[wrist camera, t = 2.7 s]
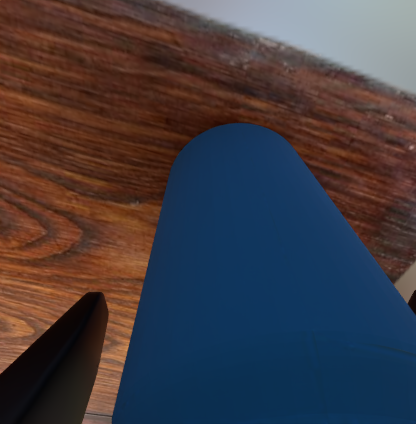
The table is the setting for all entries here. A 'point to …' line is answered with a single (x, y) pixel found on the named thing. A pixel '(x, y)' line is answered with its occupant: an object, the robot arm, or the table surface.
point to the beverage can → (263, 300)
